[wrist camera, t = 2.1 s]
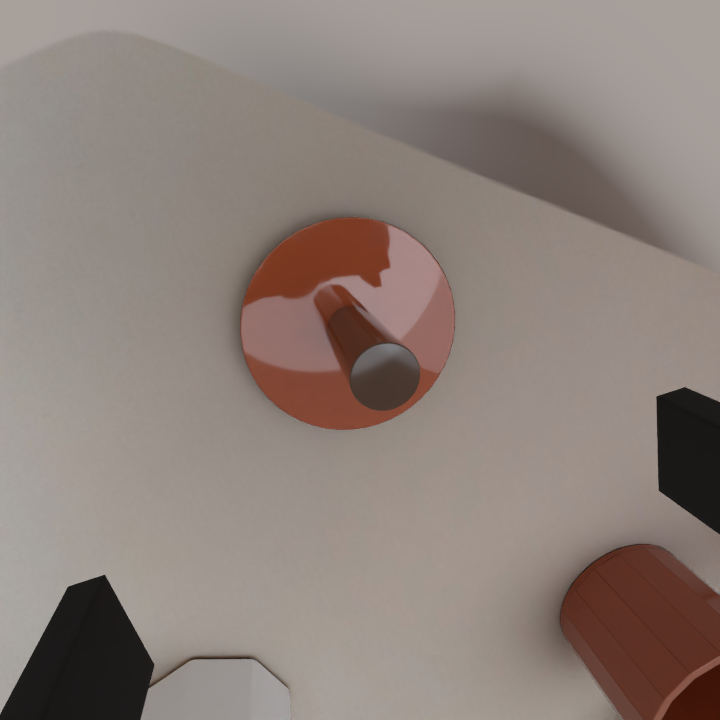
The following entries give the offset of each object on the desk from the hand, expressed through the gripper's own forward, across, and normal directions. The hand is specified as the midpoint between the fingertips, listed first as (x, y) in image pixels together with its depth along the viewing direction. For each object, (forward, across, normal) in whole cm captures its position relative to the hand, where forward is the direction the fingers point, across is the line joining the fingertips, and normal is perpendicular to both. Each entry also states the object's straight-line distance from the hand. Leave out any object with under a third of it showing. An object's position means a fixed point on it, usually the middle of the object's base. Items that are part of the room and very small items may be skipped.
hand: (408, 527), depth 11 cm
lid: (+17, +2, 0) cm, 17 cm away
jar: (+18, +18, -30) cm, 39 cm away
